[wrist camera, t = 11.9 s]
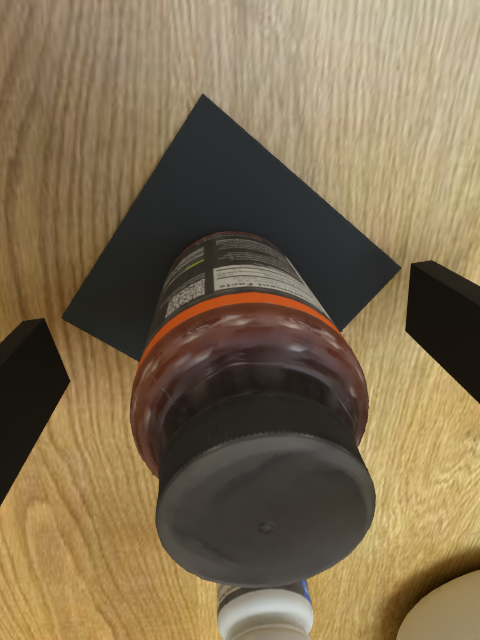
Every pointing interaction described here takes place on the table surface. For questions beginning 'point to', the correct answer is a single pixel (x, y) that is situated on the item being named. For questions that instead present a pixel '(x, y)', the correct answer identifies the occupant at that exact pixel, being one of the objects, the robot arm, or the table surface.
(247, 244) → the supplement bottle
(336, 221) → the mat
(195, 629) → the table surface
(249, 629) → the pill bottle
